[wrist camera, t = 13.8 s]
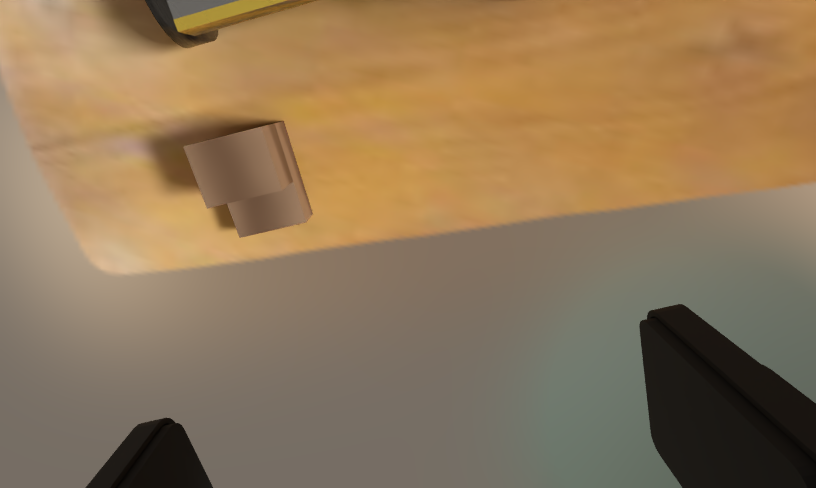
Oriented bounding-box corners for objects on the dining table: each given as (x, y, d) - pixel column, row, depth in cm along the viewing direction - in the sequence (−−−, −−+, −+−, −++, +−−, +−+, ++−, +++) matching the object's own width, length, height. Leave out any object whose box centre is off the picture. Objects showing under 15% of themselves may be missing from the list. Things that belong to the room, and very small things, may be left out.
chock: (284, 120, 33) (261, 126, 28) (313, 213, 35) (296, 234, 30) (218, 137, 33) (182, 146, 28) (250, 228, 35) (223, 251, 30)
